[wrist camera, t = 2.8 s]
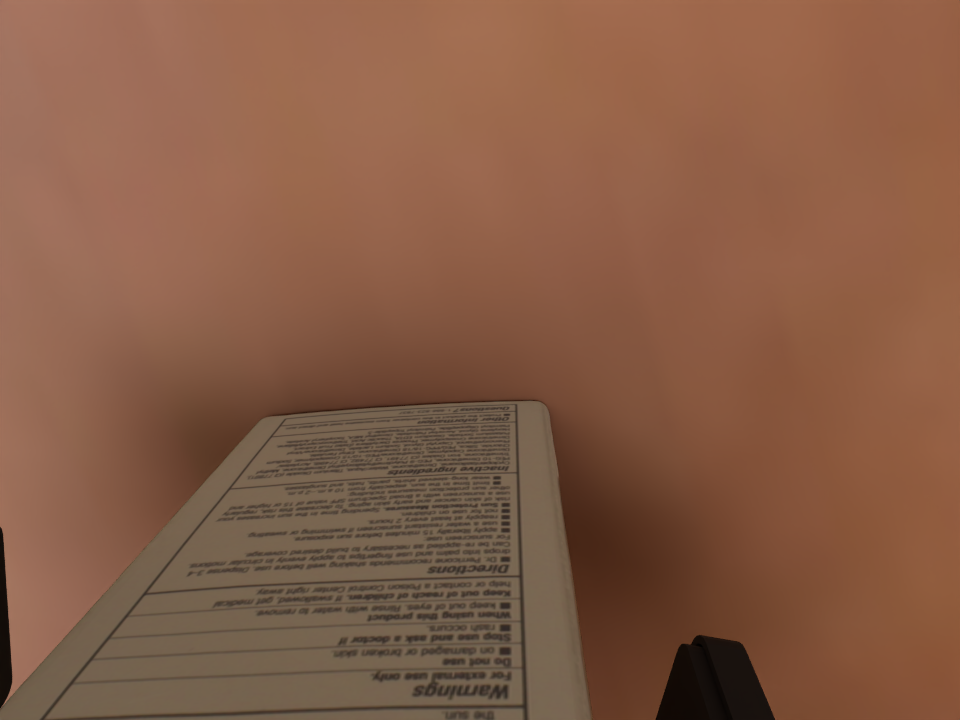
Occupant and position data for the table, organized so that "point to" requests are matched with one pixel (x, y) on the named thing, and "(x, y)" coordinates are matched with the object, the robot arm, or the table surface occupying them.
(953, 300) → the table surface
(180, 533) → the skincare box
